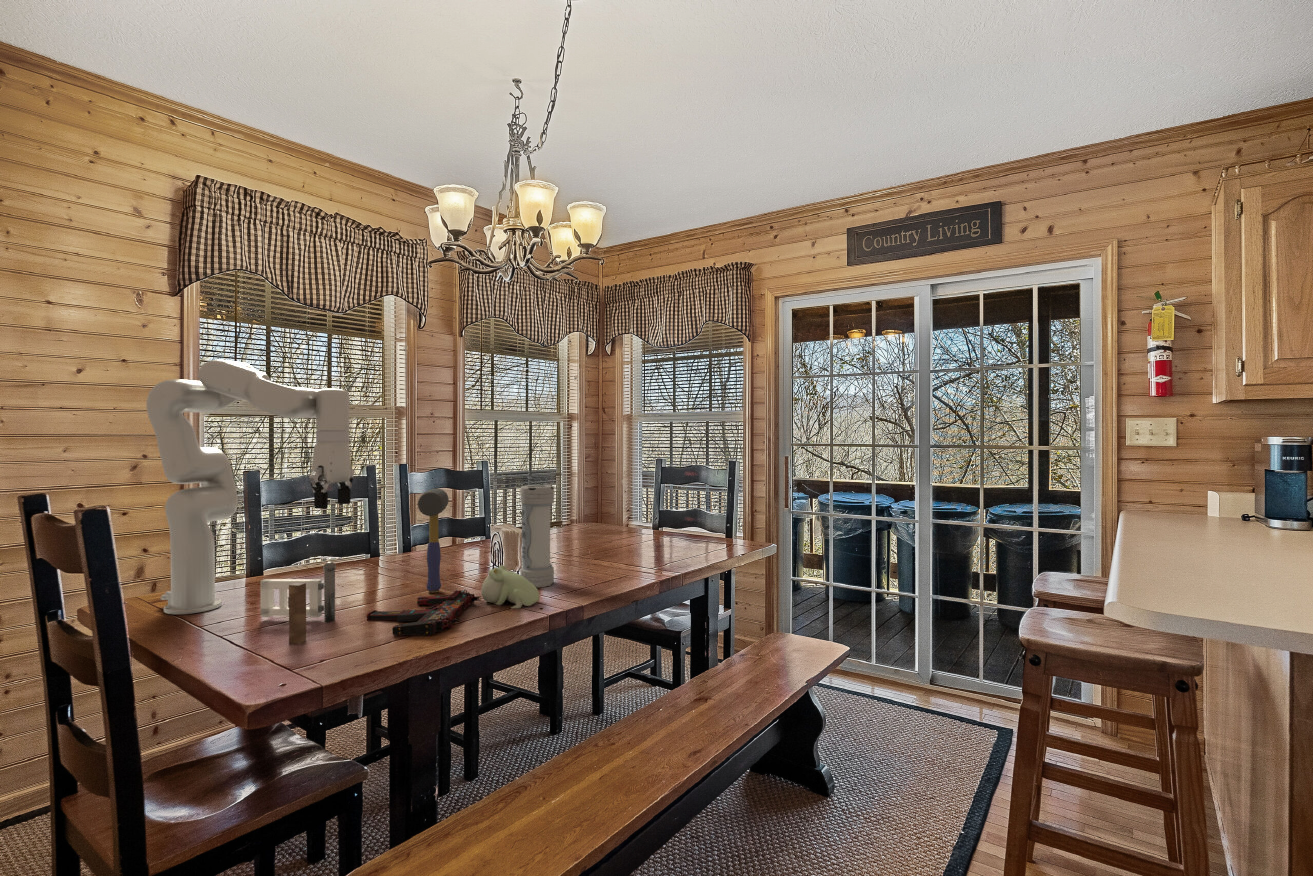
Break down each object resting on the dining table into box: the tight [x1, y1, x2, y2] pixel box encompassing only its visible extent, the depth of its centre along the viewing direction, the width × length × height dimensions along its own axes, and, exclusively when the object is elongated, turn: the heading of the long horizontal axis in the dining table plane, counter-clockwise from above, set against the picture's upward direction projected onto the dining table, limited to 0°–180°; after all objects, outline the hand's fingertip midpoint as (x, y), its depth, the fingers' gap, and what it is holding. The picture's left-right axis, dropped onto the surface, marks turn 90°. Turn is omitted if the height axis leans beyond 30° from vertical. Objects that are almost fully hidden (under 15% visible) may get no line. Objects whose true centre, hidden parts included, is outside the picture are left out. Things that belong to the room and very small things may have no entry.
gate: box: [259, 578, 324, 619], centre depth 165 cm, size 2×15×9 cm, turn 90°
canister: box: [520, 484, 555, 589], centre depth 204 cm, size 10×10×30 cm
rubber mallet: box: [417, 488, 450, 593], centre depth 193 cm, size 12×8×30 cm, turn 9°
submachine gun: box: [366, 589, 482, 636], centre depth 170 cm, size 34×4×25 cm
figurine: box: [480, 564, 540, 610], centre depth 182 cm, size 10×16×10 cm, turn 74°
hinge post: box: [322, 561, 337, 623], centre depth 165 cm, size 3×3×15 cm
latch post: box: [287, 583, 307, 645], centre depth 148 cm, size 3×2×13 cm
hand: (332, 506), depth 168 cm, fingers open, 9 cm apart
